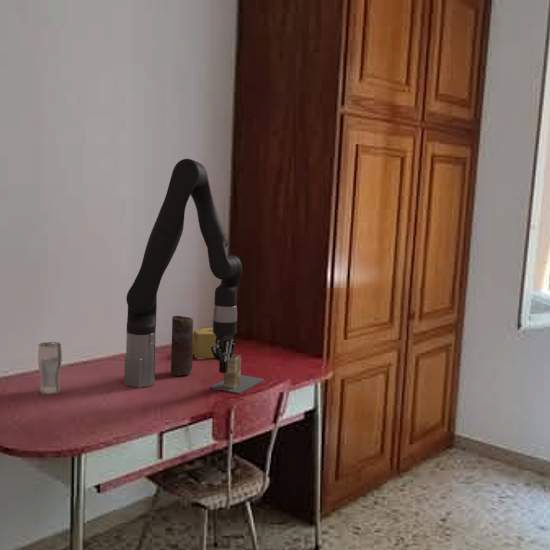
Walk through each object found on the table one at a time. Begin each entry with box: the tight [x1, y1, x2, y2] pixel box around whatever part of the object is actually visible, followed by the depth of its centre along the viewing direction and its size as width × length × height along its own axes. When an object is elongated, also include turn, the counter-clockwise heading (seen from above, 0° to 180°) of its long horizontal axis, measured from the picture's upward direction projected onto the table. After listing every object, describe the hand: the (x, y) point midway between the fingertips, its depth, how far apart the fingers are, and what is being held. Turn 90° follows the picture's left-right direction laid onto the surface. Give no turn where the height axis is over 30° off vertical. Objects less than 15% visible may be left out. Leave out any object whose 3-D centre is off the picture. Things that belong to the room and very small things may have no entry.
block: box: [223, 353, 242, 388], centre depth 233 cm, size 4×4×10 cm
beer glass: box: [37, 341, 63, 395], centre depth 220 cm, size 7×7×15 cm
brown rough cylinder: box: [170, 315, 194, 377], centre depth 245 cm, size 8×7×20 cm
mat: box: [209, 374, 265, 395], centre depth 238 cm, size 18×11×1 cm, turn 155°
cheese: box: [192, 327, 216, 360], centre depth 272 cm, size 10×11×10 cm
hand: (223, 372), depth 227 cm, fingers closed
